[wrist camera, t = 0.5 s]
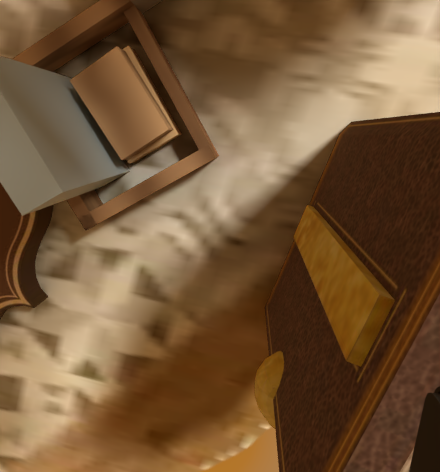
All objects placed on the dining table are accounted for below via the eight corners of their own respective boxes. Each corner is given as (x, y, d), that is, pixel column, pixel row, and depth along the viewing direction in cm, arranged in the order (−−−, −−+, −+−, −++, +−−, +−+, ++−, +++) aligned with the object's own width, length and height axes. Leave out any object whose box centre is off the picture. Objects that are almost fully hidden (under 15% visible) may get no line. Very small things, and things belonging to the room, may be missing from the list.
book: (336, 108, 35) (523, 56, 11) (429, 144, 36) (811, 168, 11) (243, 330, 41) (233, 616, 17) (324, 360, 41) (431, 686, 17)
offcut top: (125, 51, 34) (116, 46, 32) (173, 129, 35) (168, 129, 33) (80, 83, 35) (69, 80, 33) (129, 158, 36) (121, 160, 34)
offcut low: (135, 50, 36) (128, 45, 34) (182, 134, 37) (178, 134, 35) (88, 81, 37) (78, 77, 35) (135, 161, 38) (128, 163, 36)
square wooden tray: (134, -1, 34) (122, -15, 31) (218, 155, 37) (215, 158, 34) (12, 80, 37) (-12, 75, 33) (99, 222, 39) (85, 230, 36)
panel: (75, 79, 36) (-28, 47, 23) (129, 171, 38) (63, 192, 24) (48, 96, 37) (-70, 75, 23) (102, 186, 38) (22, 215, 25)
